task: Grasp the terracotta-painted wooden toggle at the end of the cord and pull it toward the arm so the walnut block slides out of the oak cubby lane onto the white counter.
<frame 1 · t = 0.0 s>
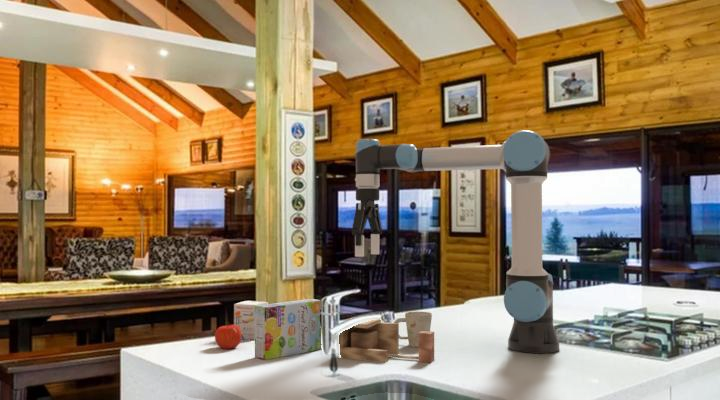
hand: (367, 255, 203), 28 cm above the counter, fingers open, 13 cm apart
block: (364, 355, 186), on the counter
apple: (228, 348, 197), on the counter
mug: (411, 345, 201), on the counter
snack box: (289, 354, 189), on the counter
ink box: (250, 337, 215), on the counter
cubby: (371, 356, 185), on the counter
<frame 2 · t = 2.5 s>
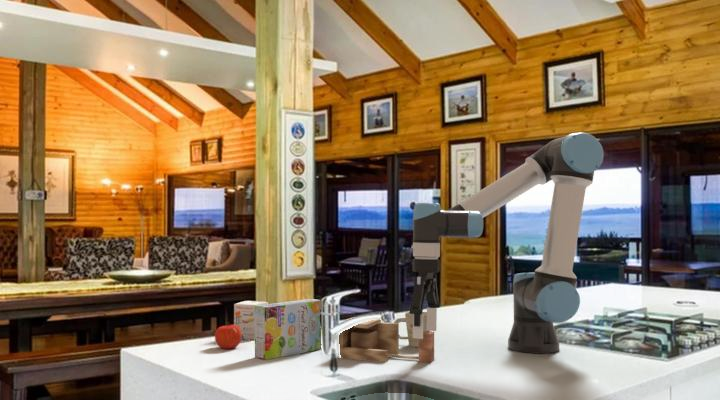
hand: (424, 334, 179), 7 cm above the counter, fingers open, 13 cm apart
nothing on the counter moved.
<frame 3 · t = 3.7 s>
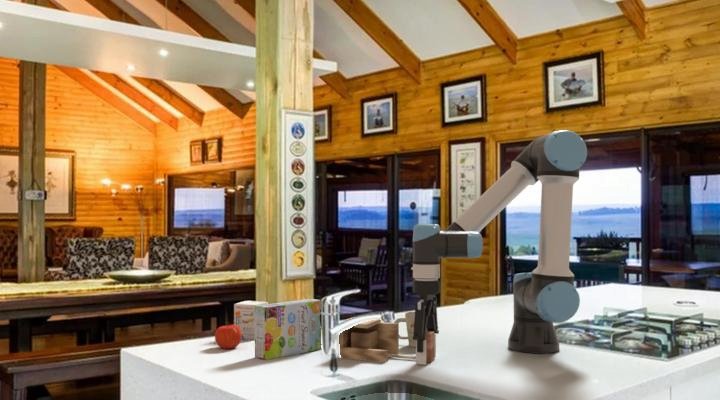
hand: (426, 360, 179), 0 cm above the counter, fingers open, 9 cm apart
nothing on the counter moved.
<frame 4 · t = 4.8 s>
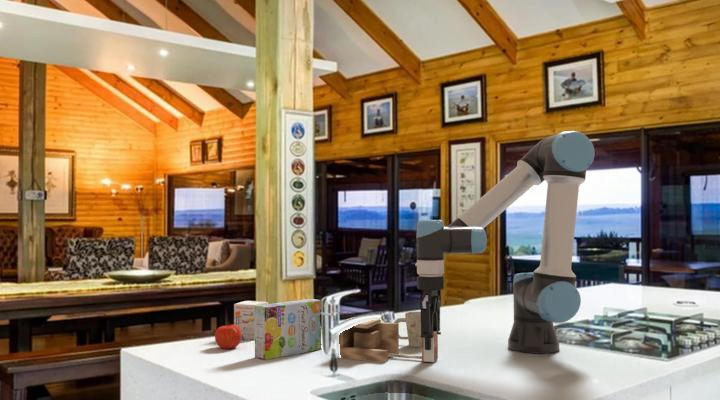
hand: (430, 359, 179), 0 cm above the counter, fingers closed on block, 3 cm apart
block: (367, 355, 186), on the counter, touching gripper
everything else where it was.
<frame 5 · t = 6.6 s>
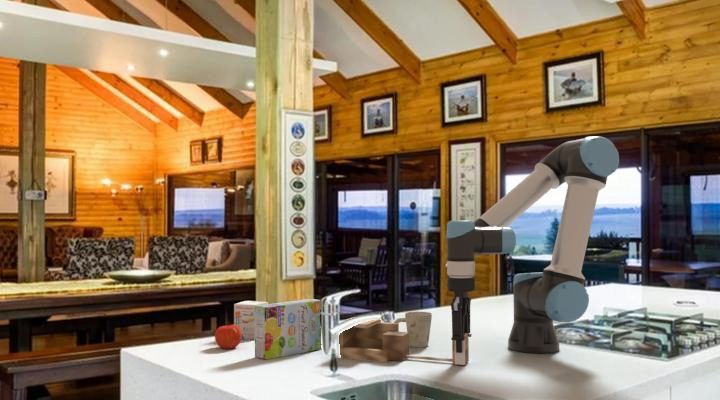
hand: (461, 362, 175), 0 cm above the counter, fingers closed on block, 3 cm apart
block: (396, 358, 183), on the counter, touching gripper
everything else where it was.
when the fingers open (1 cm above the counter, at t = 8.3 s): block stays where it is, on the counter.
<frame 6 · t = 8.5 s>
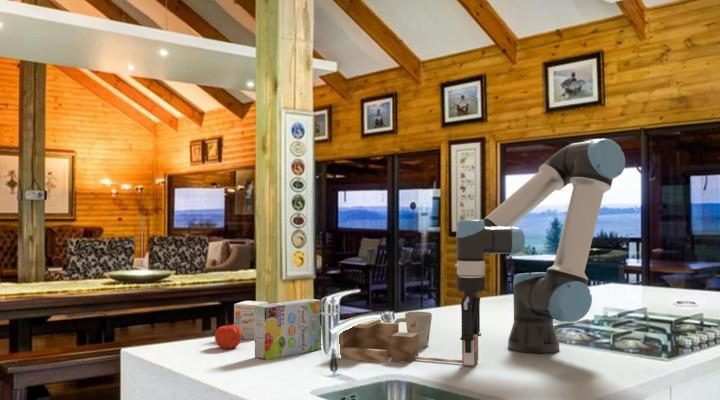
hand: (471, 362, 174), 1 cm above the counter, fingers open, 5 cm apart
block: (405, 359, 181), on the counter
everything else where it was.
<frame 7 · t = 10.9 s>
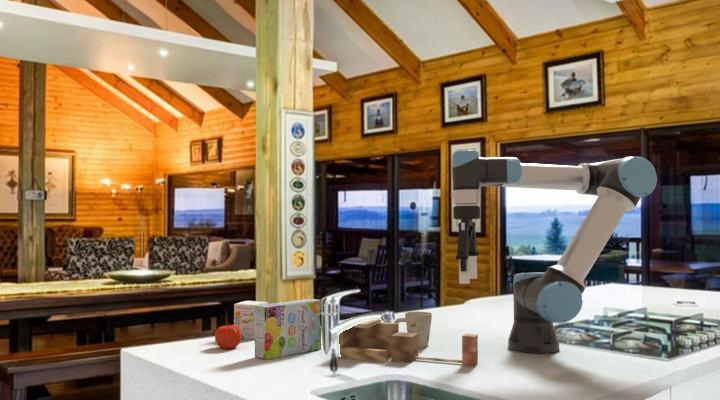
hand: (468, 281, 180), 22 cm above the counter, fingers open, 13 cm apart
nothing on the counter moved.
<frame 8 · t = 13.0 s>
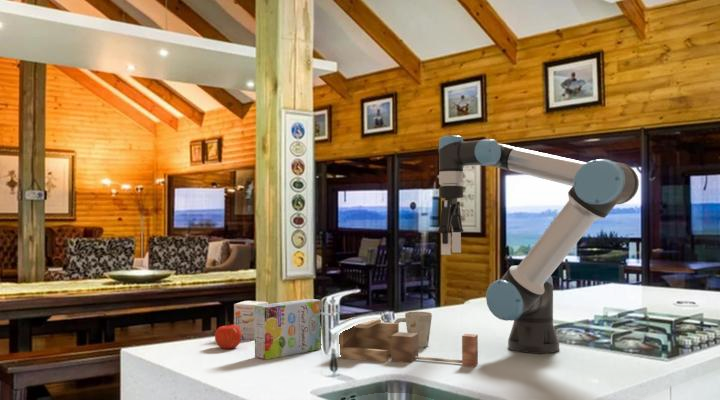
hand: (451, 253, 201), 29 cm above the counter, fingers open, 13 cm apart
nothing on the counter moved.
at the end: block inside the target area (4.1 cm from its centre), on the counter; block moved 12.2 cm from its start; the gripper is holding nothing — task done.
